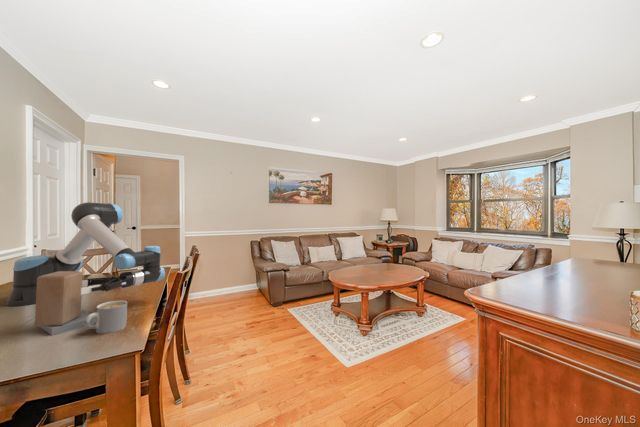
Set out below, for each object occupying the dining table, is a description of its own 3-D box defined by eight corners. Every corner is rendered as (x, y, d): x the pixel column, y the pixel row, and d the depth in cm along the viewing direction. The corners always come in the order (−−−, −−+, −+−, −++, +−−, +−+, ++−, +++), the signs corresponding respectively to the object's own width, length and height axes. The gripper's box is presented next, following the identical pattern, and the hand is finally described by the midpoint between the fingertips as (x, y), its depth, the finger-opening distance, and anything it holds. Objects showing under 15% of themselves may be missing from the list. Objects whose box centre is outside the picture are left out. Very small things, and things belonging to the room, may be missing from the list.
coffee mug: (123, 321, 112) (124, 298, 112) (128, 328, 105) (130, 304, 105) (82, 331, 101) (83, 306, 102) (85, 339, 95) (86, 313, 95)
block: (62, 326, 100) (64, 276, 100) (33, 327, 98) (35, 276, 98) (81, 316, 109) (84, 270, 110) (55, 316, 108) (58, 270, 108)
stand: (39, 326, 104) (39, 320, 104) (83, 315, 116) (83, 310, 116) (51, 335, 97) (52, 328, 97) (97, 322, 109) (97, 316, 109)
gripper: (143, 290, 120) (86, 302, 101) (118, 282, 132) (63, 292, 114) (144, 274, 120) (86, 284, 102) (119, 268, 132) (64, 275, 114)
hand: (74, 288), depth 108 cm, fingers open, 13 cm apart
